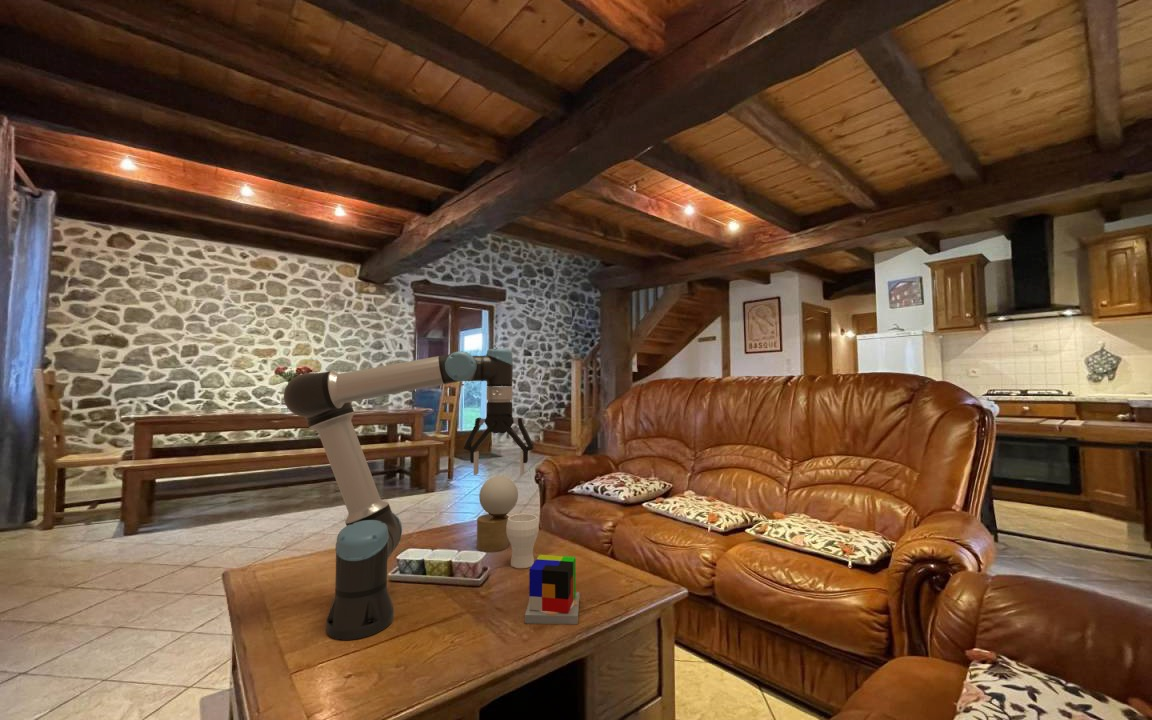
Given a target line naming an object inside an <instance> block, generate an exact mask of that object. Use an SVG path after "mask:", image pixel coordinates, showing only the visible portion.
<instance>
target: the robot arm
mask: <svg viewBox="0 0 1152 720" xmlns="http://www.w3.org/2000/svg"><path fill="white" fill-rule="evenodd" d="M513 363H514V362H513V352H512V351H511V350H510V349H509V348H508V349H507V348H490V349H487V351H486V354H485V355H472V354H471V353H469V352H467V351H463V350H461V351H459V350H458V351H453V352H452V353H448V354H445V355H440V356H439V355H437V356H432V357H425V358H420V359H414V360H410V361H405V362H400V363H399V362H398V363H394V364H392V363H391V364H386V365H382V366H381V365H380V366H375V367H371V368H365V369H357V370H354V371H353V370H352V371H347V372H341V373H339V372H336V371H335V370H329V371H325V372H324V371H323V372H307V373H302V374H299V375H296V376H295V377H293V378H292V379H291V380H290V381H289V382H288V383H287V384H286V386H285V389H284V392H283V400H284V404H285V406H286V407H287V409H288V410H289V411H290V412H291V413H293V414H294V415H295V416H298V417H301V418H305V420H306V423H307V426H308V428H309V429H310V430H313V431H315V432H317V433H318V435H319V438H320V442H321V444H322V446H323V449H324V451H325V454H326V457H327V460H328V461H329V465H330V468H331V470H332V472H333V476H334V479H335V481H336V484H337V486H338V489H339V491H340V494H341V496H342V500H343V502H344V504H345V507H346V510H347V513H348V515H347V517H346V519H345V523H344V524H345V525H346V526H344V527H343V528H342V529H341V530H340V531H339V533H338V534H337V537H336V542H335V579H334V580H335V582H334V583H335V585H334V587H335V591H334V593H335V594H334V599H333V601H332V604H331V606H330V609H329V612H328V615H327V618H326V622H325V633H326V635H327V634H328V635H329V636H330V637H329V636H328V635H327V636H328V637H329V638H331V637H332V638H331V639H334V638H335V640H339V641H343V640H344V641H348V640H349V641H350V640H351V641H352V640H358V639H362V638H367V637H369V636H373V635H375V634H377V633H380V632H382V631H383V630H385V629H386V628H388V627H389V626H390V625H391V624H392V623H393V621H394V615H395V610H394V609H395V607H394V604H393V601H392V599H391V595H390V592H389V590H388V561H389V560H388V559H390V556H391V555H392V553H393V552H394V551H395V550H396V549H397V547H398V545H399V543H400V541H401V539H402V535H403V534H402V533H403V525H402V522H401V519H400V518H399V516H397V514H396V513H394V512H393V511H392V509H391V506H390V503H389V502H388V501H385V500H384V499H381V496H380V493H379V490H378V489H377V485H376V483H375V480H374V478H373V475H372V472H371V470H370V467H369V465H368V462H367V459H366V456H365V454H364V451H363V449H362V446H361V443H360V441H359V438H358V435H357V433H356V431H355V428H354V425H353V422H352V419H353V417H354V415H355V411H354V408H353V405H352V402H353V403H354V402H359V401H364V400H368V399H373V398H378V397H385V396H388V395H389V396H390V395H394V394H400V393H405V392H411V391H416V390H421V389H425V388H430V387H436V386H441V385H446V384H452V383H457V382H486V400H487V401H488V402H486V415H485V416H486V417H485V418H482V417H476V418H475V421H474V426H473V428H472V429H471V433H470V434H469V436H468V439H467V441H466V442H465V444H464V446H463V449H464V450H465V451H469V452H470V459H469V462H470V463H471V464H473V476H477V475H478V474H479V459H480V458H479V457H480V456H479V455H480V454H479V450H477V449H479V447H480V446H481V445H482V443H483V442H484V441H485V440H486V439H487V437H488V436H489V435H490V434H491V433H492V434H506V433H507V434H508V435H509V436H510V438H512V440H513V441H514V442H515V443H516V445H518V447H519V448H520V450H521V451H520V453H519V455H520V456H519V457H520V459H519V460H520V461H519V462H520V464H519V465H520V467H519V469H520V470H519V471H520V472H519V475H520V476H524V475H525V464H527V463H528V461H529V451H531V450H534V448H535V445H534V442H533V441H532V439H531V437H530V435H529V432H528V430H527V429H526V426H525V425H524V423H525V422H524V418H523V417H519V418H513V416H514V415H513V402H512V400H513V395H514V393H513V391H514V390H513V387H514V386H513V376H514V374H513V373H514V371H513V370H514V369H513V368H514V364H513ZM484 423H485V426H486V429H485V430H484V432H483V433H482V434H481V435H480V437H479V438H478V439H477V440H476V441H475V442H474V440H475V439H476V436H477V434H478V433H479V431H480V428H481V426H483V425H484ZM514 424H515V425H516V426H518V429H519V431H520V433H521V434H522V437H523V440H524V441H525V443H524V441H523V440H522V439H521V438H520V436H519V435H518V434H517V433H516V432H515V430H514V429H513V428H512V426H513V425H514ZM473 442H474V444H473ZM472 444H473V445H472ZM366 636H367V637H366ZM340 639H341V640H340Z"/></svg>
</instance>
